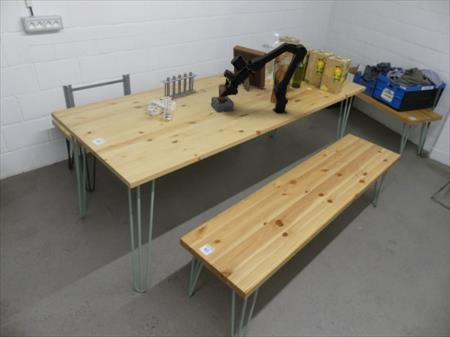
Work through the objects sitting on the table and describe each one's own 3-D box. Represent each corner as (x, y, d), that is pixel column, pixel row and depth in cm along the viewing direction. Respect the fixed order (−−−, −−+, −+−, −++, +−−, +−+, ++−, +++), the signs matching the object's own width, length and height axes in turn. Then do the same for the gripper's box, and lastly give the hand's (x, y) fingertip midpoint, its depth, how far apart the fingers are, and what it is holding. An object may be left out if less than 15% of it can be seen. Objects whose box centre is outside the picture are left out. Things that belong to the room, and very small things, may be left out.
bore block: (233, 110, 209) (234, 102, 206) (217, 112, 205) (217, 103, 202) (226, 103, 216) (227, 96, 214) (211, 105, 213) (211, 97, 210)
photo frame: (237, 79, 254) (241, 43, 241) (264, 87, 246) (270, 50, 232) (226, 85, 244) (229, 47, 230) (254, 93, 235) (259, 55, 221)
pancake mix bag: (264, 100, 226) (270, 56, 210) (281, 94, 238) (289, 51, 223) (272, 104, 222) (280, 59, 207) (290, 97, 234) (298, 54, 219)
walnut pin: (226, 106, 211) (227, 85, 203) (222, 108, 208) (222, 87, 201) (221, 104, 213) (221, 83, 205) (217, 107, 210) (217, 85, 203)
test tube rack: (165, 101, 212) (165, 79, 205) (161, 98, 215) (160, 77, 207) (196, 92, 229) (197, 71, 221) (191, 90, 231) (192, 69, 224)
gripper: (231, 60, 205) (211, 78, 210) (234, 70, 190) (211, 89, 195) (243, 74, 210) (223, 91, 215) (247, 86, 195) (225, 104, 200)
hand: (220, 93), depth 206 cm, fingers open, 8 cm apart
